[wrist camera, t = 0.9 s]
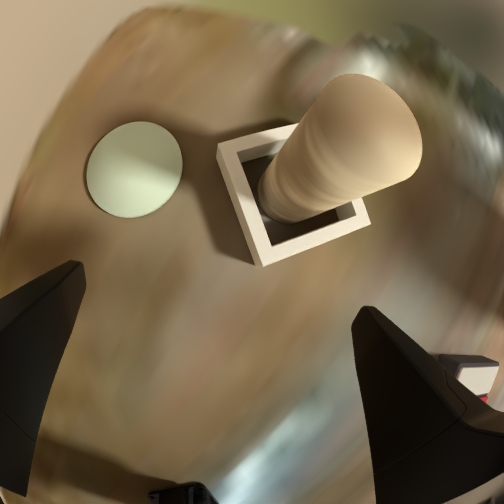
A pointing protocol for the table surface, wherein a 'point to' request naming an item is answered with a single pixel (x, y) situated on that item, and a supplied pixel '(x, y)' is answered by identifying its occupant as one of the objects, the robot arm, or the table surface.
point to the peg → (341, 150)
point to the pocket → (246, 208)
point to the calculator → (472, 372)
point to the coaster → (134, 169)
